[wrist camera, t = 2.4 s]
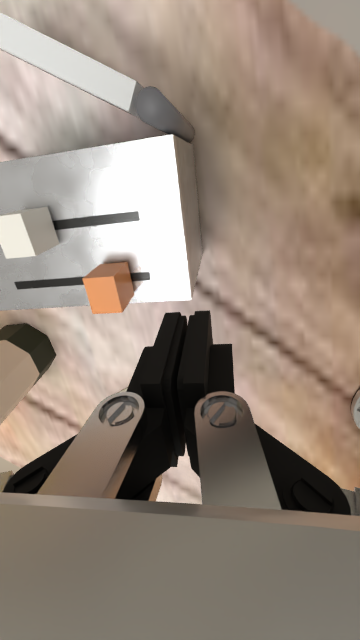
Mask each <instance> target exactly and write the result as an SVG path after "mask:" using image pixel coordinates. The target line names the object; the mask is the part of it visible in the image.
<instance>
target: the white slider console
mask: <svg viewBox="0 0 360 640" xmlns="http://www.w3.org/2000/svg"><path fill="white" fill-rule="evenodd" d="M41 207H48V210H49V213H50V216H51V219H52V222H53V225H54V229H55V232H56V235H57V238H58V241H59V245H57V246H55V247H53V248H51V249H49V250H47V251H45V252H43V253H41V254H39V255H37V256H31V257H20V258H9V259H6V257H5V254H4V252H3V250H2V247H1V245H0V310H18V309H36V308H54V307H71V306H89V305H90V303H89V299H88V296H87V293H86V289H85V286H84V283H83V279H82V278H84V277H85V276H86V275H87V274H89V273H90V272H91V271H92V270H93V269H95V268H96V267H97V266H98V265H100V264H108V263H121V262H128V267H129V271H130V276H131V281H132V285H133V290H134V296H133V297H132V299H131V300H130V302H129V303H143V302H161V301H179V300H192V295H193V291H194V287H195V283H196V279H197V275H198V271H199V266H200V262H201V258H202V254H203V250H202V239H201V227H200V216H199V204H198V193H197V181H196V170H195V158H194V146H193V145H192V144H190V143H188V142H186V141H184V140H182V139H181V138H179V137H177V136H175V135H173V134H171V135H165V136H159V137H153V138H146V139H140V140H134V141H128V142H122V143H116V144H109V145H103V146H97V147H91V148H85V149H78V150H72V151H66V152H60V153H54V154H48V155H41V156H35V157H29V158H23V159H17V160H11V161H4V162H0V215H1V214H6V213H10V212H14V211H18V210H25V209H33V208H41Z"/></svg>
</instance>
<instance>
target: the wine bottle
mask: <svg viewBox="0 0 360 640" xmlns="http://www.w3.org/2000/svg"><path fill="white" fill-rule="evenodd" d="M55 356H56V354H55V352H54V349H53V347H52V345H51V343H50V341H49V338H48V336H46V335H45V334H43V333H41V332H40V331H38V330H36V329H35V328H33V327H32V326H30V325H28V324H27V323H26V324H16V325H6V326H5V327H4V328H2V329H1V330H0V425H1V423H2V422H3V421H4V420H5V419H6V418H7V416H8V415H9V414H10V413H11V412H12V410H13V409H14V408H15V407H16V406H17V405H18V403H19V402H20V401H21V400H22V399H23V398H24V396H25V395H26V394H27V393H28V392H29V391H30V389H31V388H32V387H33V386H34V385H35V384H36V382H37V381H38V380H39V379H40V378H41V377H42V375H43V374H44V373H45V372H46V371H47V369H48V368H49V366H50V365H51V363H52V361H53V360H54V358H55Z"/></svg>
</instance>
